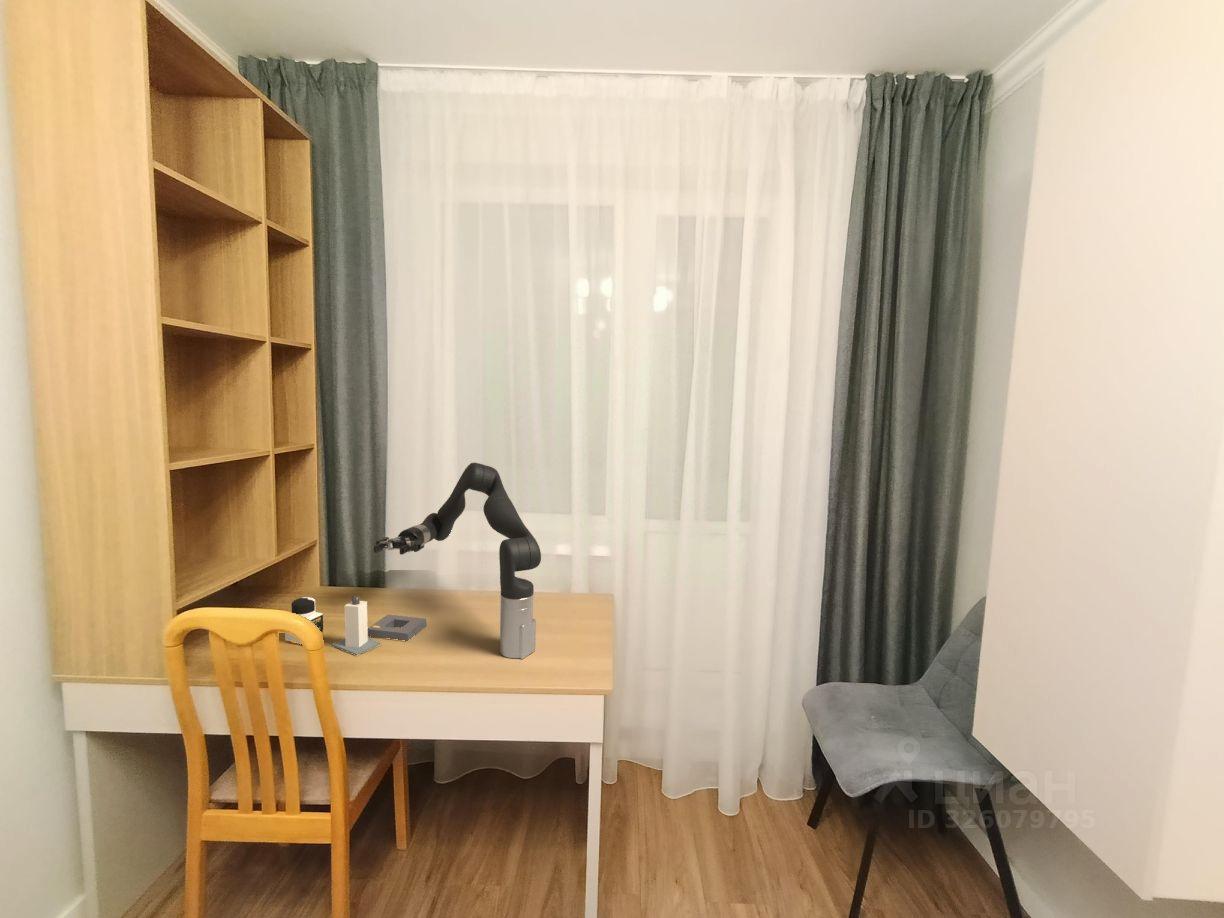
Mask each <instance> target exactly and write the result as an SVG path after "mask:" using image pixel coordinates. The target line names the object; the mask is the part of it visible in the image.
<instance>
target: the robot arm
mask: <svg viewBox="0 0 1224 918" xmlns="http://www.w3.org/2000/svg"><path fill="white" fill-rule="evenodd" d="M468 490H472V491H475V492H479V493H482V494H485V495H486V496H487V498H486V500H485V502H484V504H483V514H484V516H485V519H486V520H487V523H488V525H489V527H490V528H491V529H493V530H494V531H495V532H497V533H498V534H499V535H501V536H504V537H506V539H503V540H502V541H501V542H500V544H499V551H498V555H499V557H498V559H499V580H500V581H499V585H500V613H499V616H500V622H499V623H500V625H499V626H500V627H499V629H500V630H499V631H500V632H499V640H500V642H499V653H500V654H501V655H502V656H503V657H505V658H507V659H522V660H523V659H524V658H526V657H528V656H529V655H530V654H532V653H534V652H536V635H537V634H536V633H537V632H536V630H537V620H536V618H534V592H535V590H534V584H533V582H532V581H530V580H528V579H526V578H522V577H517V576H516V572H522V571H524V572H525V571H530V570H534V569H536V568H538V566H540V564H541V562H542V553H541V548H540V546H539V543H538V541H537V540H536V538H535V537H534V536H533V534H532V533H531V531H530V530H529V529H528V528H527V526H526V525H525V523H524V522H523V520H522V518H521V517H520V515H519V513H518V511H517V509H516V507H515V505H514V504H513V502H512V500H511V499H510V497H509V495H508V493H507V491H506V489H505V487H504V485H503V481H502V478H501V476H500V473H499V472H498V470H497V469H496V468H495V467H492V466H489V465H486V464H482V463H479V462H471V463H469V464H468V465H467V466H466V467H465V468H464V470H463V472H462V474H461V476H460V477H459V479H458V481H457V482H456V484H455V486H454V488H453V490H452V492H451V494H450V495H449V497H448V498H447V499H446V501H444V503H443V504H442V505H441V506H440V507H439V509H438V511H437V512H432V513H430V514H428V515H427V516H426V517H425V518H424V520H423V521H422V523H420V524H416V525H413V526H411V527H408V528H406V529H404V530H402V531H401V532H400V533H399V534H398V535H397V536H395V537H393V538H390V537H388V536H385V537H383V538H381V539H378V540H376V541H375V545H373V552H374V553H380V552H382V551H384V550H388V551H393V550H394V551H395V550H399V555H404V554H406V553H411V552H414V553H417V552H420V551H421V550H423V549H424V548H425V545H426V544H427V543H429V542H431V541H434V540H436V541H438V542H442V541H445V540H447V538H448V537H449V536H450V535H449V534H451V532H452V531H453V528H454V525H455V522H456V521H457V520H458V518H459V517H460V516H461V515H462V514H463V513H464V511H465V508H466V496H465V494H466V492H467V491H468ZM451 530H452V531H451Z"/></svg>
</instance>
